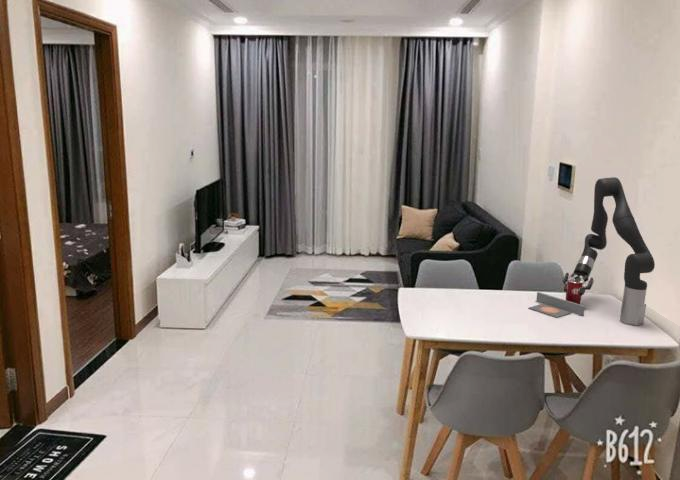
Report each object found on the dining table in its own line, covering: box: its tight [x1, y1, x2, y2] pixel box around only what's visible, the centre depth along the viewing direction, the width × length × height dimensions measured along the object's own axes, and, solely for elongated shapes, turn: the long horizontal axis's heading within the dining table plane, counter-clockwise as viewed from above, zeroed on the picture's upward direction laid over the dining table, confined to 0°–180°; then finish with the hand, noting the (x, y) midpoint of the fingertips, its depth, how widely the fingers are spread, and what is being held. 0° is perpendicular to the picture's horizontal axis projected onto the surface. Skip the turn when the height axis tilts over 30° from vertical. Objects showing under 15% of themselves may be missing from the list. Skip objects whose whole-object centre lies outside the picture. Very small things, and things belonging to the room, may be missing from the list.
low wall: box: [535, 291, 586, 317], centre depth 279 cm, size 26×1×5 cm, turn 35°
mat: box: [528, 303, 572, 319], centre depth 275 cm, size 16×12×1 cm
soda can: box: [564, 278, 583, 305], centre depth 281 cm, size 7×7×12 cm
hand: (572, 293), depth 280 cm, fingers closed on soda can, 7 cm apart
